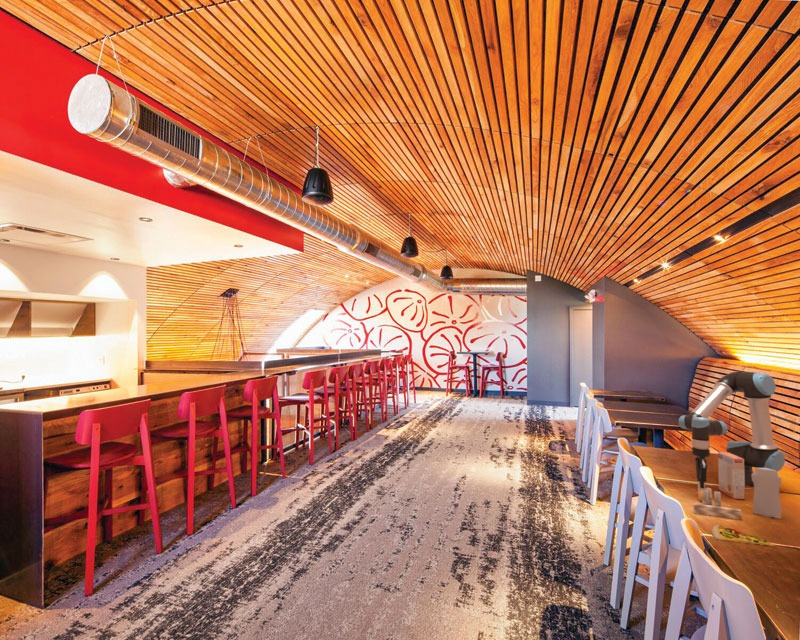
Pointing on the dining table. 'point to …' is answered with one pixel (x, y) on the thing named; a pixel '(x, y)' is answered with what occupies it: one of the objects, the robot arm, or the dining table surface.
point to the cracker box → (731, 475)
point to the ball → (701, 495)
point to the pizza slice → (736, 536)
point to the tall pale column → (766, 492)
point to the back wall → (717, 511)
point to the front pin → (709, 496)
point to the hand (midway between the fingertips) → (701, 493)
